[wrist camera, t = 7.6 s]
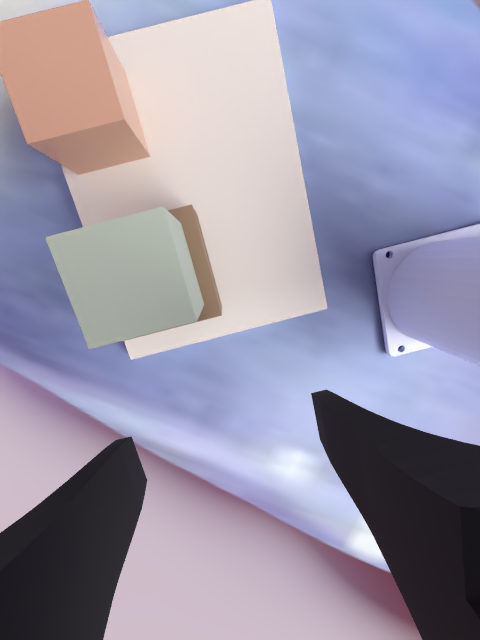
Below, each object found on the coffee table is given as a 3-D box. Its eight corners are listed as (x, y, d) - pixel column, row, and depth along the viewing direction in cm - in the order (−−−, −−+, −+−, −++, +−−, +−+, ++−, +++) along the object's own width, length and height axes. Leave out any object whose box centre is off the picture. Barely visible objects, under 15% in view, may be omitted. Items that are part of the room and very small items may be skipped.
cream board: (267, 12, 16) (270, -4, 15) (322, 306, 20) (327, 308, 19) (34, 70, 16) (22, 58, 15) (135, 355, 20) (130, 359, 19)
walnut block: (197, 214, 17) (191, 204, 14) (222, 306, 19) (221, 315, 15) (104, 238, 17) (77, 233, 14) (135, 328, 18) (117, 342, 15)
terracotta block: (125, 72, 15) (88, -1, 11) (150, 156, 16) (124, 119, 12) (49, 91, 15) (-18, 26, 11) (78, 175, 16) (27, 144, 12)
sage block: (204, 304, 15) (197, 321, 11) (126, 324, 15) (89, 349, 11) (181, 223, 14) (163, 206, 10) (98, 244, 14) (44, 237, 10)
